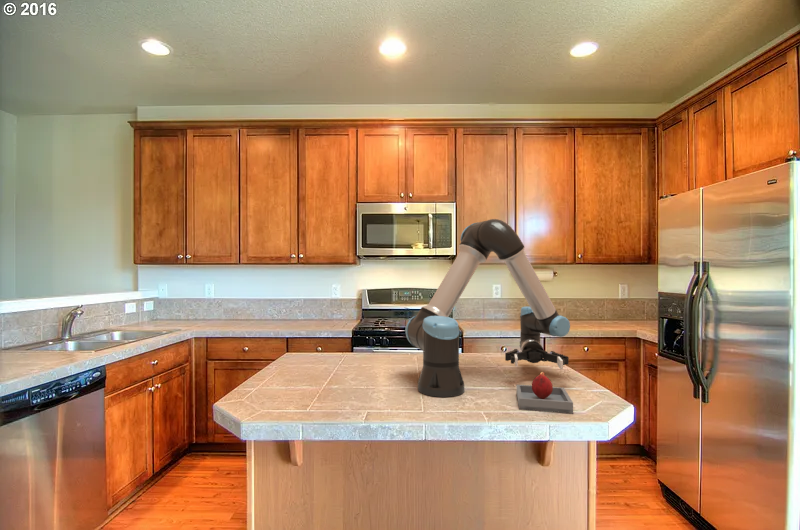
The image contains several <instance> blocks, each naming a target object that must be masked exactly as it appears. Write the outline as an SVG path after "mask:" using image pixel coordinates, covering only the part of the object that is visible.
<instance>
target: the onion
mask: <svg viewBox="0 0 800 530" xmlns="http://www.w3.org/2000/svg"><path fill="white" fill-rule="evenodd" d="M531 386H532V390H533V392H534V394H535V395H536V396H537V397H539V398H540V399H545V398H547V397H548V396H549V395H550V394H551V393H552V391H553V387H554V385H553V383H552V381H551V380H550V378H548V376H547V375H545V372H544V371H541V372H540V374H539V375H536V376H535V378H533V380H532V382H531Z"/></svg>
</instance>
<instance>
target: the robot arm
mask: <svg viewBox="0 0 800 530" xmlns="http://www.w3.org/2000/svg"><path fill="white" fill-rule="evenodd" d="M524 250H525V244H523V242H522V240H521V238H520V236H519V235H518V234H517V232H516V231H515V230H514V229H513V228H512V227H511V225H509V224H508V223H506V222H505V221H504V220H502V219H499V218H490V219H487V220H483V221H479V222H478V221H477V222H474V223H471V224H470V225H468V226H466V227H465V228H464V229H463V230H462V232H461V234H460V243H459V245H458V252H459V253H458V254H457V256H456V258H455V259H454V261H453V262H452V264H451V265H450V267H449V269H448V271H447V273H446V274H445V276H444V278H443V279H442V281H441V283H440V284H439V286H438V288H437V289H436V291H435V293H434V294H433V296H432V297H431V299H430V301H429V302H428V304H427V305H424V306H421V308H420V309H419V311H418V312H417V314H416V315H414V316H413V317H410V318H409V320H408V321H407V323H406V325H405V330H404V331H405V336H406V339H407V341H408V342H409V343H410V344H411V346H412V347H414V348H416V349H417V350H418V349H419V350H421V351H422V369H421V372H420V375H419V378H418V381H417V391H418V392H419V393H420V394H423V395H426V396H430V397H434V398H435V397H437V398H438V397H439V398H449V397H457V396H460V395H462V394H464V393H465V382H464V379H463V374H462V371H461V369H460V361H459V360H460V328H459V326H460V325H459V322H458V321H457V320H456V319H455V318H453V317H449V316H450V315H451V313H452V312H453V309H454V308H455V306H456V305H457V303H458V301H459V299H460V298H461V296H462V294H463V293H464V291H465V289H466V288H467V286H468V284H469V282H470V281H471V279H472V277H473V276H474V274H475V272H476V270H477V269H478V267H479V265H480V264H483V263H485V262H486V261H487V260H488V258H489V256H490V255H491V253H492V252H493V253H494V254H495V255H496V256H497V258H498V259H499V261H502V262H504V264H505V266H506V268H507V269H508V271H509V272H510V275H511V276H512V278H513V279H514V281H515V284H516V285H517V287H518V289H519V290H520V292H521V293H522V296H523V298H524V300H526V303H527V304H528V306H522V307H520V316H519V318H520V321H519V322H520V335H519V336H520V339H519V348H520V350H521V351H520V350H519V349H517V348H514V349H513V350H510V351H508V352H505V356H504V360H505V361H507V362H509V361H510V364H511V365H512V364H514V367H517V368H518V364H519V361H523V360H524V361H527V362H529V363H531V364H538V363H540V362H549V363H554V364H557V367H558V368H559V369H560V370H564V366H565V365H566V366H567V365H569V364H570V363H569V362H570V361H569V360H570V359H569V356H568V355H564V354H561V353H559V352H555V351H554V350H551V351H550V352H548V351H546V350H545V349H544V347H543V346H542V344H541V334H544V335H548V336H552V337H558V338H562V337H566V335H568V334H569V332H570V329H571V324H570V323H571V322H570V320H569V319H568V318H567V317H566V316H563V315H560V314H559V312H558V311H557V309H556V307H555V306H554V303H553V302H552V299H551V298H550V297H549V294H548V292H547V291H546V289H545V287H544V286H543V284H542V282H541V280H540V278H539V276H538V274H537V273H536V271H535V269H534V266H532V264H531V261H530V260H529V258H528V257H527V255H526V253H525V251H524Z"/></svg>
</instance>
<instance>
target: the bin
mask: <svg viewBox="0 0 800 530" xmlns="http://www.w3.org/2000/svg"><path fill="white" fill-rule="evenodd" d="M515 385H516V386H515V387H516V390H515V391H516V394H515V395H516V399H517V406H518V410H519V411H520V410H521V411H532V412H534V411H535V412H545V413H546V412H547V413H558V414H559V413H560V414H570V415H573V414H574V402H573V400H572V399H571V397H570V395H569V394H568V392H567V390H566V388H565V387H561V386H559V387H558V386H556V387H555V386H553V391H552V393H551V394H550V395H549V396H548V397H547V398H545V399H540V398H539V397H537V396H536V395H535V394H534V392H533V390H532V384H531V385H530V384H529V385H528V384H515Z"/></svg>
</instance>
